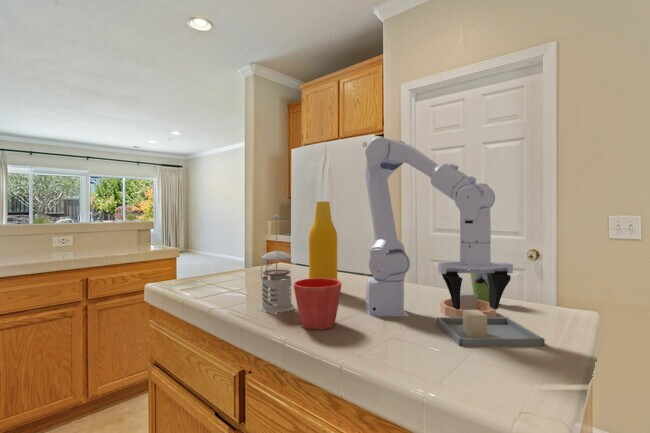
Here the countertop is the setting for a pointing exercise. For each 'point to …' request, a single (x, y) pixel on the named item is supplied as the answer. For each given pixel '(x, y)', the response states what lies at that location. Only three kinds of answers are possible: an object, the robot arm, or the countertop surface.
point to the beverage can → (480, 286)
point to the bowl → (450, 311)
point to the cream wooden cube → (475, 323)
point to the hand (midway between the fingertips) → (475, 308)
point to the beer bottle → (323, 244)
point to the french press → (276, 283)
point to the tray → (491, 333)
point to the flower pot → (317, 302)
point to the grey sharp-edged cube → (468, 301)
